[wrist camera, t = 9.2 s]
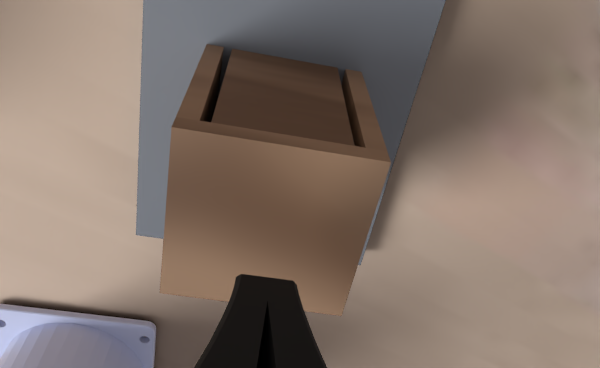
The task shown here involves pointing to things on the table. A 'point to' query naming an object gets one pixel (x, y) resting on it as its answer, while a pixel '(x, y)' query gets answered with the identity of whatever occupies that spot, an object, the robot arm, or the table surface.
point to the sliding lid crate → (271, 178)
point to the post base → (281, 43)
